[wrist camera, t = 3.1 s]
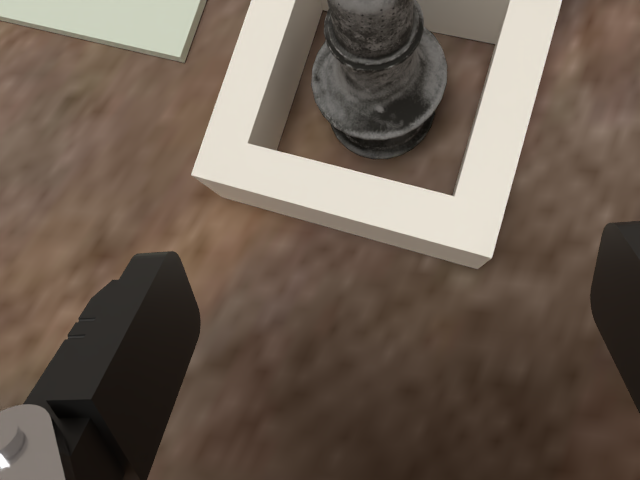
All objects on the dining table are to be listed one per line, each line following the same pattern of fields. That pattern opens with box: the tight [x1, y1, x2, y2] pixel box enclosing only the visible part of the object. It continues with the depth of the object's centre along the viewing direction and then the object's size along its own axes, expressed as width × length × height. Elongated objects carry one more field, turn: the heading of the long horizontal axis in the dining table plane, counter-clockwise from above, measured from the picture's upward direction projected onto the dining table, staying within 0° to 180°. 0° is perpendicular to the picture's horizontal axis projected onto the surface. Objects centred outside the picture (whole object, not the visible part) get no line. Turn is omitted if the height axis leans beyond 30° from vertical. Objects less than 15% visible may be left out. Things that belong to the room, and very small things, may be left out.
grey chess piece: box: [311, 0, 447, 159], centre depth 20 cm, size 6×6×12 cm
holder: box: [191, 0, 562, 269], centre depth 24 cm, size 13×13×5 cm
